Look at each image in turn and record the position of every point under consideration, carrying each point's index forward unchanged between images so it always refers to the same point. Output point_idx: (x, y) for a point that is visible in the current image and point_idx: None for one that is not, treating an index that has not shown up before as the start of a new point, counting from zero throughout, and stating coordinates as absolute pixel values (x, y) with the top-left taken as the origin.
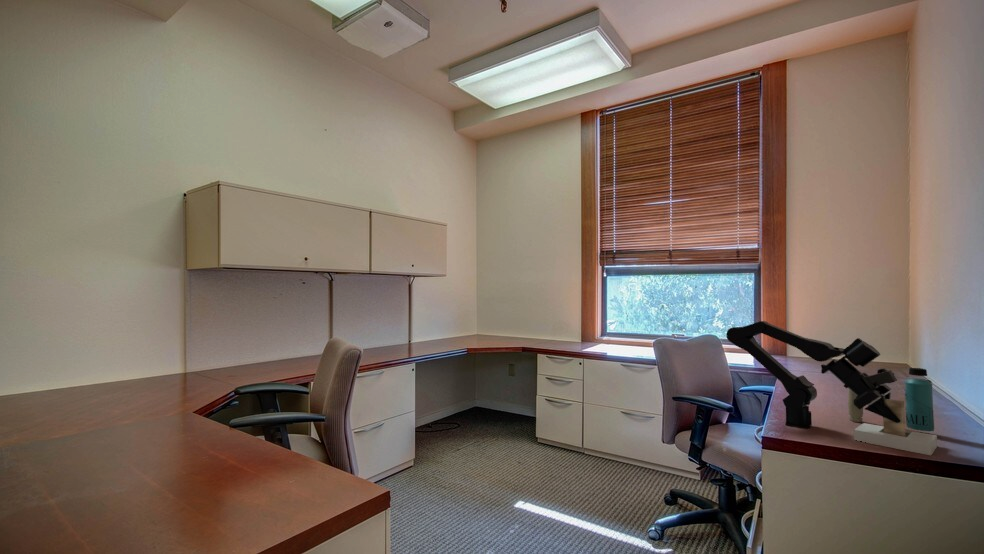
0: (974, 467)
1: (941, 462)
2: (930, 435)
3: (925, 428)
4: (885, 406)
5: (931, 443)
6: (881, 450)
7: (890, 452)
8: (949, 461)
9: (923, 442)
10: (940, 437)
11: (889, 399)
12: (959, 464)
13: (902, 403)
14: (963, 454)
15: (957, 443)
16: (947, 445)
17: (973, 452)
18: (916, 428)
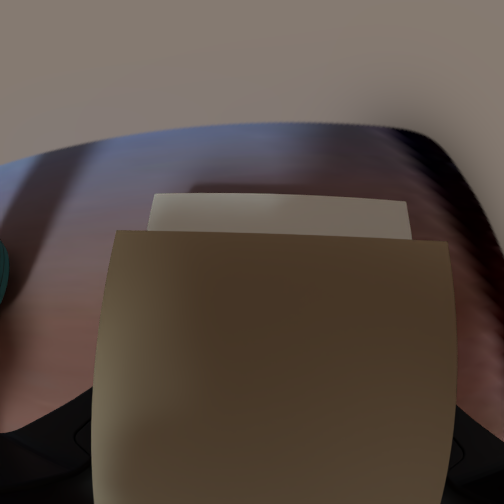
0: (411, 130)
1: (450, 199)
2: (178, 214)
3: (3, 256)
4: (495, 446)
5: (375, 201)
6: (471, 387)
7: (474, 354)
8: (412, 179)
9: (406, 227)
10: (18, 229)
11: (123, 488)
12: (420, 158)
13: (313, 246)
14: (244, 147)
15: (71, 180)
16: (123, 197)
17: (180, 131)
18: (2, 289)
